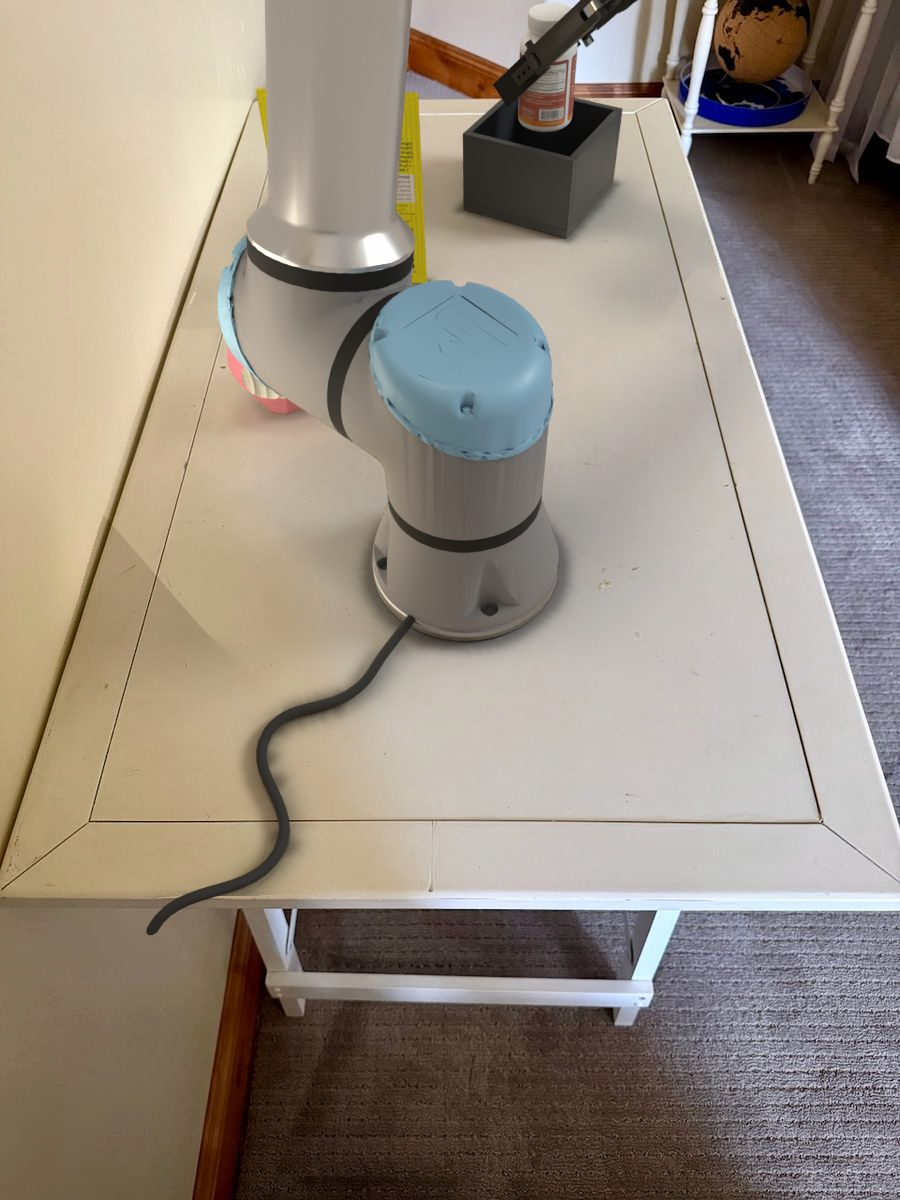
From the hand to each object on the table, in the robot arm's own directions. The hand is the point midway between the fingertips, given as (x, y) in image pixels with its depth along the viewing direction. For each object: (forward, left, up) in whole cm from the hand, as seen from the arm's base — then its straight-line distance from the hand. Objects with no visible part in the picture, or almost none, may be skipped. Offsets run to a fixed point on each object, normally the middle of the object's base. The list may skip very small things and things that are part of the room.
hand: (518, 81), depth 100 cm
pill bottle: (0, -4, -4) cm, 5 cm away
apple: (-45, +1, -13) cm, 47 cm away
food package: (-25, +6, -13) cm, 29 cm away
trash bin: (0, -4, -12) cm, 13 cm away
